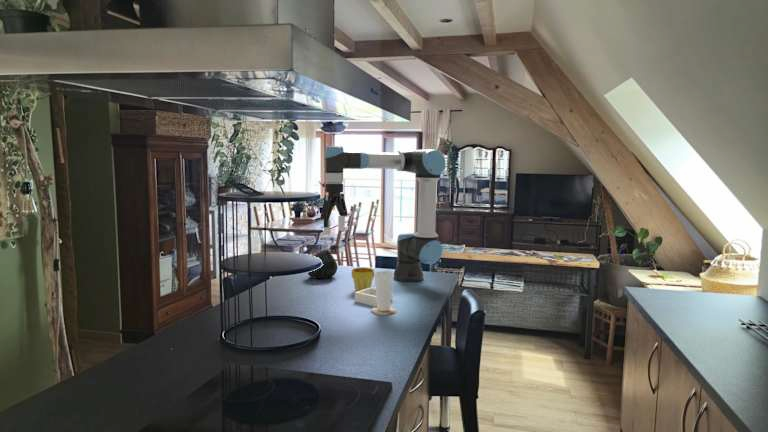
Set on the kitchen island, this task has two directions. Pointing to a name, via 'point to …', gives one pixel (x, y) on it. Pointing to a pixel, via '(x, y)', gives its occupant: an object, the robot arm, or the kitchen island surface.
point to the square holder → (367, 296)
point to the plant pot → (362, 278)
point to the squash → (325, 266)
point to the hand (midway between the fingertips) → (334, 232)
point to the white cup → (383, 289)
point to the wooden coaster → (389, 312)
